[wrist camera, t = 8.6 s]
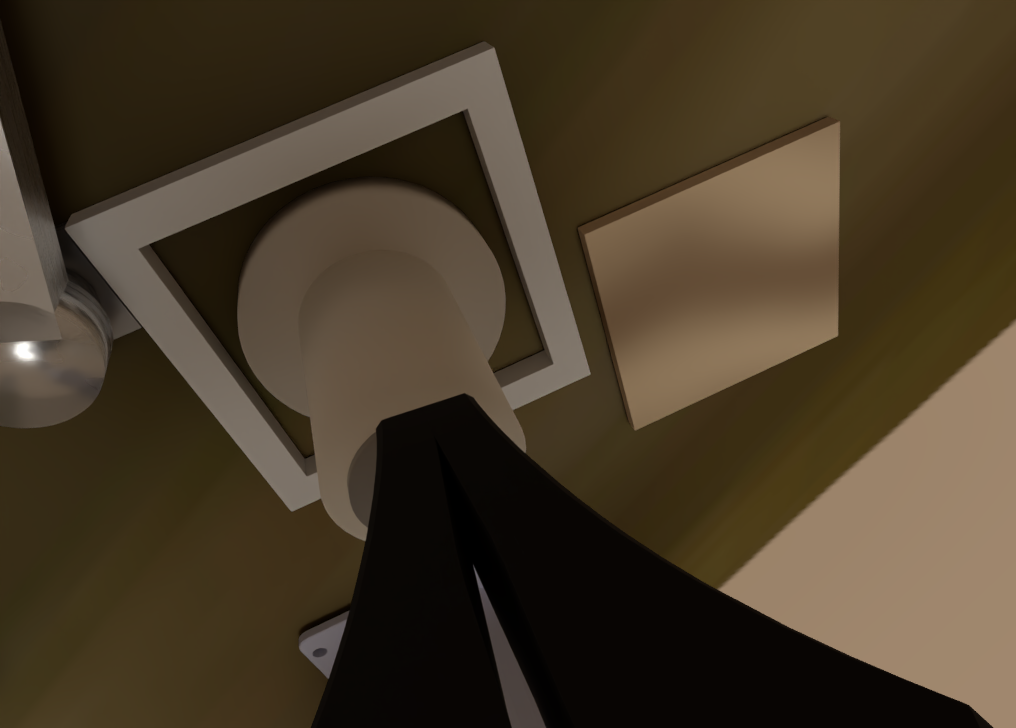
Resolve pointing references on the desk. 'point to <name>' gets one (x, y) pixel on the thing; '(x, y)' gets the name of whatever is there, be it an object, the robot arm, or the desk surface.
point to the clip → (39, 290)
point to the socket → (296, 155)
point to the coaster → (720, 272)
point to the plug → (370, 321)
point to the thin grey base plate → (95, 284)
